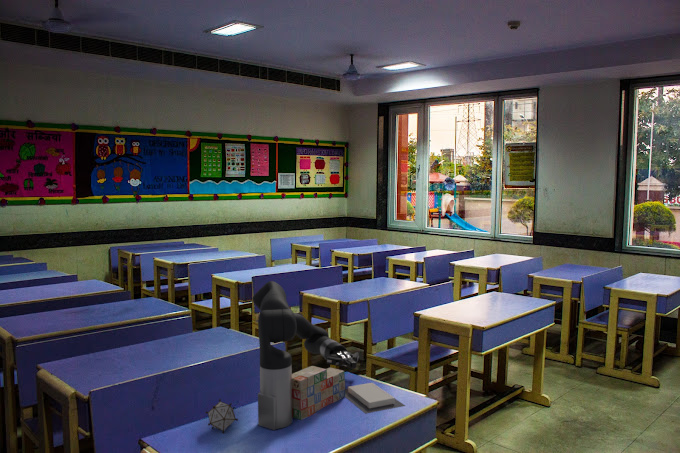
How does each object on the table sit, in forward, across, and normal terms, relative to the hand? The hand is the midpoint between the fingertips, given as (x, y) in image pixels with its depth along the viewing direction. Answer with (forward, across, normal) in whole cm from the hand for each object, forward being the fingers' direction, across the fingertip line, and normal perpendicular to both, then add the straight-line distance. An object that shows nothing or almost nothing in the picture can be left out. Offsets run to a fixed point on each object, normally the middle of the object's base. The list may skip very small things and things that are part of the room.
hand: (353, 365), depth 187 cm
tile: (+5, 0, +6) cm, 8 cm away
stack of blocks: (+10, -18, +8) cm, 22 cm away
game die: (+14, -48, +8) cm, 51 cm away
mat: (+12, 0, +8) cm, 14 cm away
